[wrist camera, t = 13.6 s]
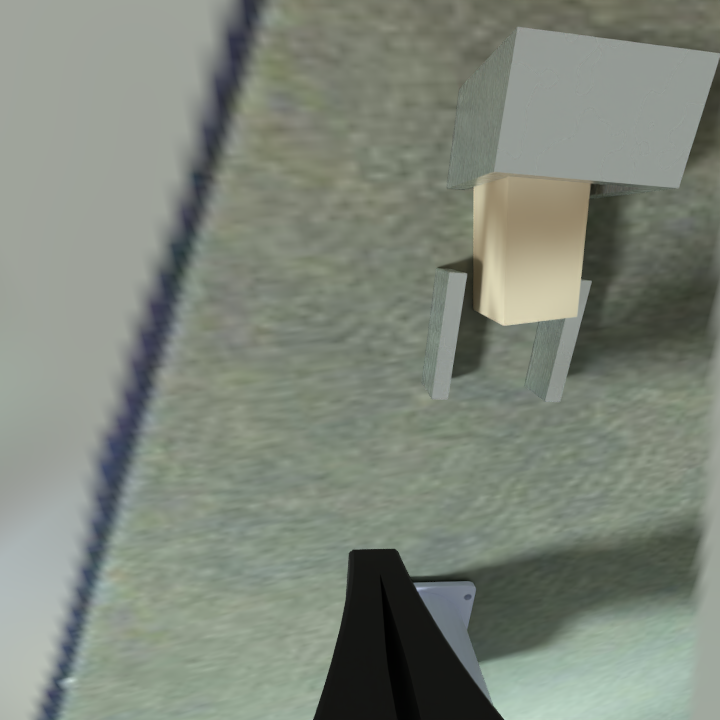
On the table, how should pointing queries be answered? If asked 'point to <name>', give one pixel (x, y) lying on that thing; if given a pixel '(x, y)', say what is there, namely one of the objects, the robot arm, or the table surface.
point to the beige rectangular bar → (528, 249)
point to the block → (580, 113)
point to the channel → (547, 353)
